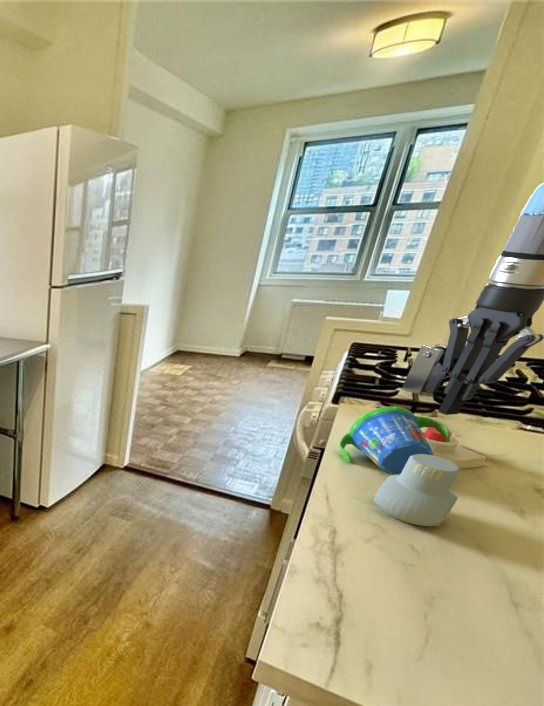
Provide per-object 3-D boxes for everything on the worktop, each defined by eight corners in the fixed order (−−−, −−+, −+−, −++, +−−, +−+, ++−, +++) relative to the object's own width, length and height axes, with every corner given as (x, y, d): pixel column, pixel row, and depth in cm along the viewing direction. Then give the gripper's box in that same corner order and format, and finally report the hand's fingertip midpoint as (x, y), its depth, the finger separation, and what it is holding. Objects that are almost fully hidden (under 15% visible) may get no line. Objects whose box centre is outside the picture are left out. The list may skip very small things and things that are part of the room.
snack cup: (347, 455, 89) (326, 423, 97) (360, 493, 94) (339, 459, 101) (460, 423, 81) (428, 391, 89) (468, 466, 85) (437, 433, 93)
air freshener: (428, 540, 74) (461, 485, 69) (363, 514, 80) (389, 462, 75) (448, 514, 79) (480, 462, 74) (386, 492, 85) (412, 442, 80)
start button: (452, 442, 94) (457, 434, 93) (436, 443, 93) (441, 435, 92) (433, 433, 97) (437, 426, 96) (418, 435, 96) (422, 427, 95)
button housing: (480, 467, 92) (492, 449, 90) (436, 472, 91) (446, 453, 89) (417, 439, 103) (426, 422, 101) (376, 443, 101) (385, 425, 99)
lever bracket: (456, 403, 118) (483, 353, 112) (424, 406, 117) (450, 355, 111) (407, 386, 129) (430, 339, 123) (378, 388, 128) (399, 341, 121)
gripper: (457, 279, 86) (397, 401, 98) (547, 293, 75) (468, 429, 86) (491, 277, 87) (429, 398, 99) (586, 291, 76) (503, 426, 87)
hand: (447, 412), depth 92 cm, fingers closed
